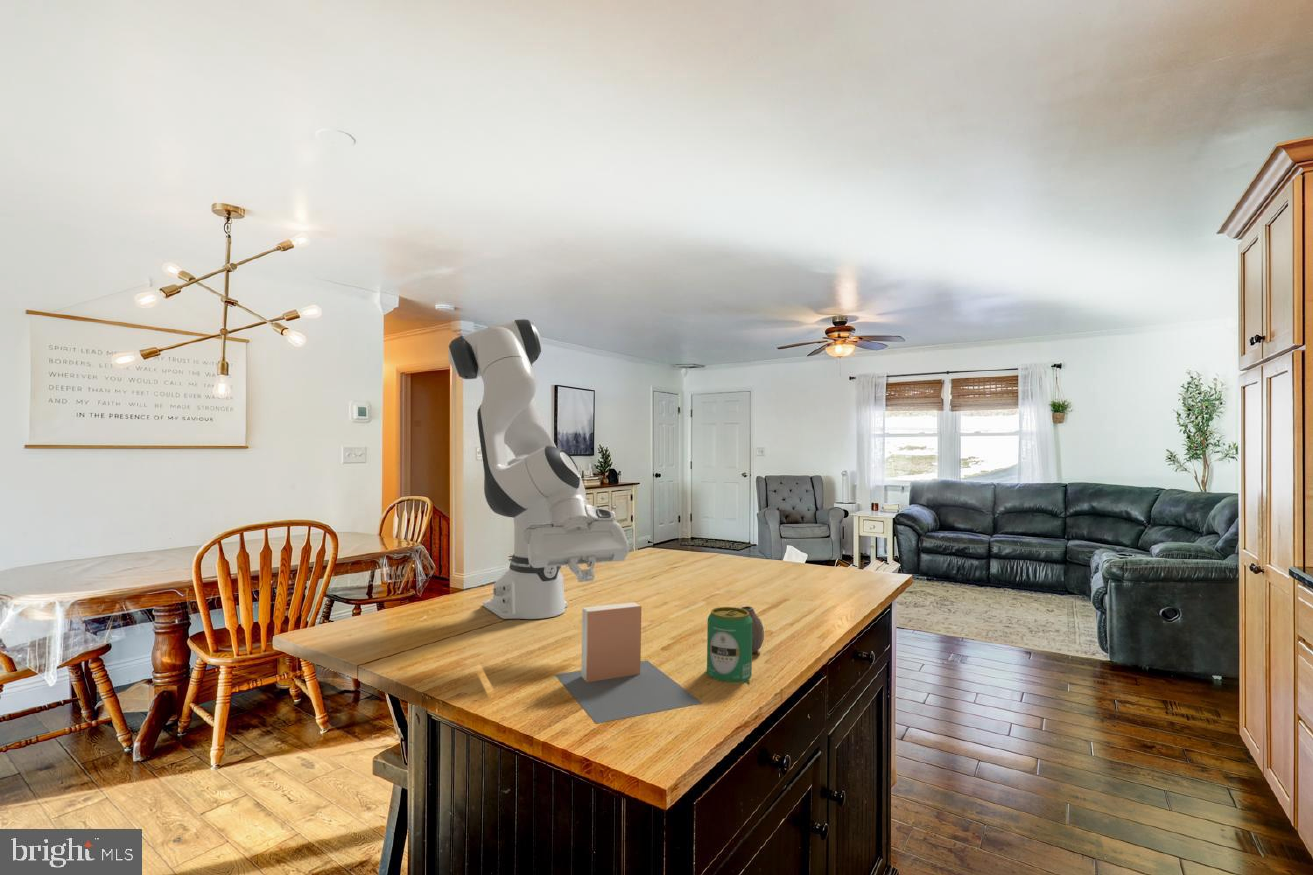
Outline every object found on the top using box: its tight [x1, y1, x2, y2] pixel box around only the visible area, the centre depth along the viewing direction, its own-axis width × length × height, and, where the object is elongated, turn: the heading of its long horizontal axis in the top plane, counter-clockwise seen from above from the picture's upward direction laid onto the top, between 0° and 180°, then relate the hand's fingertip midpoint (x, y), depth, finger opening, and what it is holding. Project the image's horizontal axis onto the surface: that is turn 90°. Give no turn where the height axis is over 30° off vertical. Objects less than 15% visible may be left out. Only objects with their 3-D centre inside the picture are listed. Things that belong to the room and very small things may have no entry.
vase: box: [740, 605, 765, 654], centre depth 126 cm, size 7×7×9 cm
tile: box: [580, 601, 642, 682], centre depth 109 cm, size 3×10×12 cm, turn 116°
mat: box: [554, 660, 703, 725], centre depth 103 cm, size 21×18×1 cm
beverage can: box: [706, 606, 753, 684], centre depth 111 cm, size 8×8×12 cm
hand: (586, 579), depth 119 cm, fingers closed
